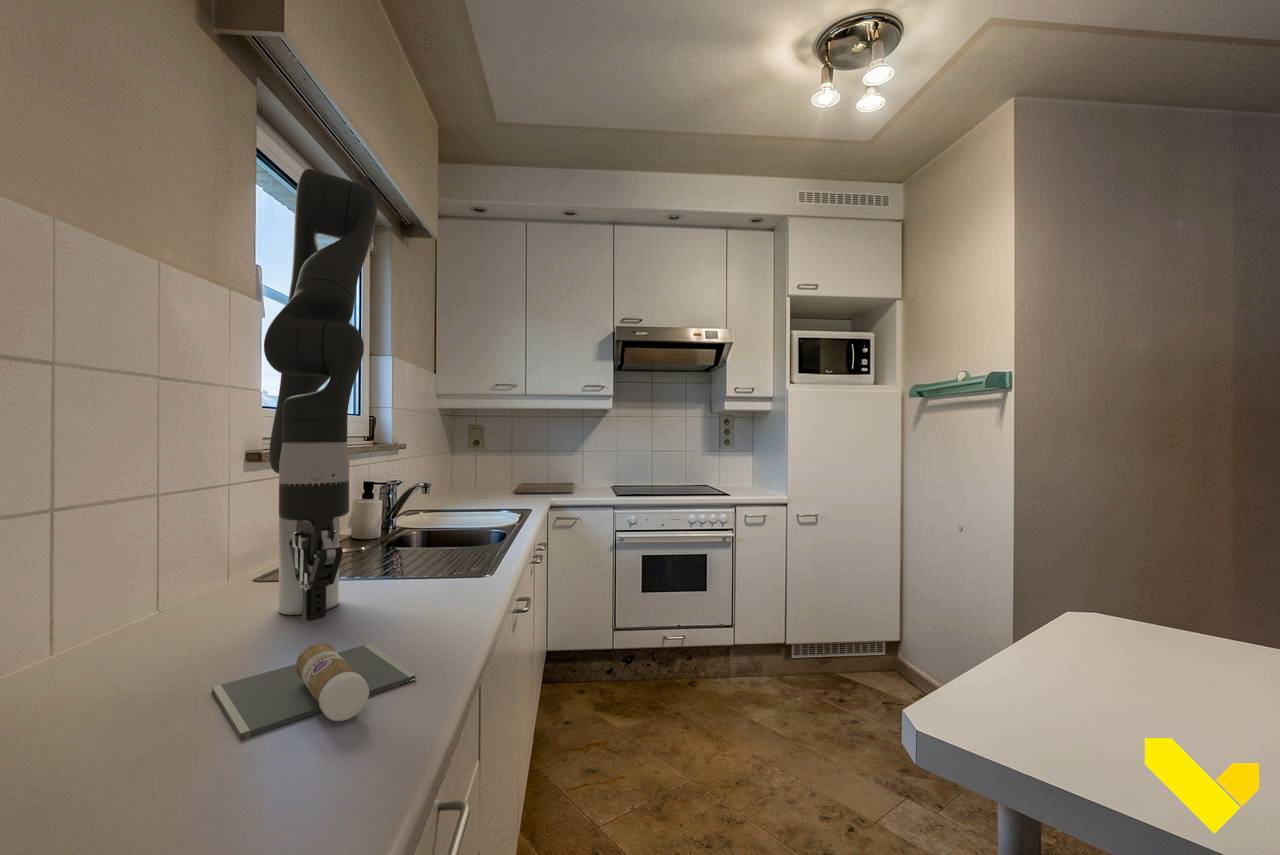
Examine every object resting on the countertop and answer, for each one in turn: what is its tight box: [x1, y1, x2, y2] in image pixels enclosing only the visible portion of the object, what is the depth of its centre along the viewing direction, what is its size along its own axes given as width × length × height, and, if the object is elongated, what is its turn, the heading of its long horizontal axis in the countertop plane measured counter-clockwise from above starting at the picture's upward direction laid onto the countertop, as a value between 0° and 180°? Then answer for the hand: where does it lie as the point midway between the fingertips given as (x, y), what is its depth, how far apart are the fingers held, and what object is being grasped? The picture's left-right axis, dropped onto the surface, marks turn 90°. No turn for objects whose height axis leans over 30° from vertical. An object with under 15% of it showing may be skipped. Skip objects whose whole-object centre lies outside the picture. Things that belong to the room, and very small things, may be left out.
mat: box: [211, 643, 416, 741], centre depth 66 cm, size 15×18×1 cm
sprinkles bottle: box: [295, 642, 370, 722], centre depth 62 cm, size 5×5×13 cm
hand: (314, 617), depth 66 cm, fingers closed
